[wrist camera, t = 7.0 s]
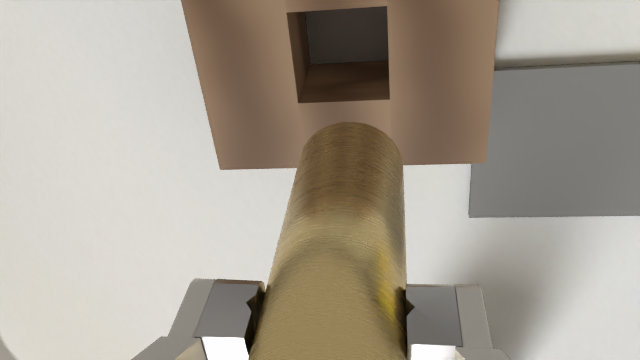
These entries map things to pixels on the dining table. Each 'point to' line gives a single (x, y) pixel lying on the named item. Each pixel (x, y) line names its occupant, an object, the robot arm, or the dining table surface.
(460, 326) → the robot arm
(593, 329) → the dining table surface
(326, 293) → the pin
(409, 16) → the hole block
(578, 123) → the mat
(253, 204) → the dining table surface
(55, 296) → the dining table surface
